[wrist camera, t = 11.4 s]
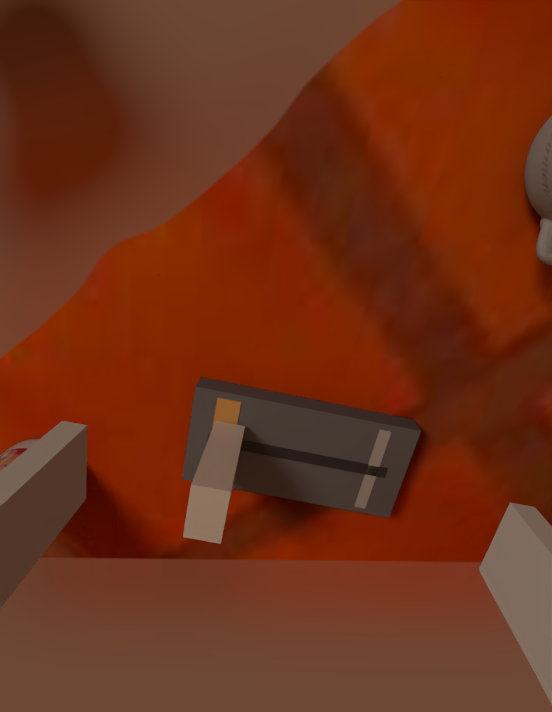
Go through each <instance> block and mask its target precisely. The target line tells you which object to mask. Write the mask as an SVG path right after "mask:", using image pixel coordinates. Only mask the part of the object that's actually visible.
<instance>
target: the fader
mask: <svg viewBox="0 0 552 712" xmlns="http://www.w3.org/2000/svg"><path fill="white" fill-rule="evenodd" d="M244 429H245V426H241V425H236V424H231V423H226V422H221V421H215V423H214V426H213V429H212V431H211V434H210V436H209V439H208V442H207V444H206V447H205V450H204V452H203V455H202V457H201V460H200V463H199V465H198V468H197V471H196V473H195V476H194V479H193V481H192V484H191V489H190V496H189V502H188V508H187V514H186V521H185V527H184V533H183V537H187V538H192V539H197V540H203V541H208V542H214V543H219V544H221V540H222V535H223V530H224V525H225V521H226V516H227V511H228V507H229V502H230V497H231V492H232V488H233V483H234V478H235V473H236V469H237V464H238V459H239V454H240V449H241V444H242V439H243V434H244Z"/></svg>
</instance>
